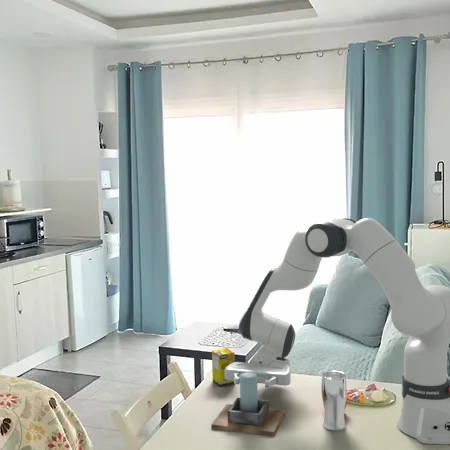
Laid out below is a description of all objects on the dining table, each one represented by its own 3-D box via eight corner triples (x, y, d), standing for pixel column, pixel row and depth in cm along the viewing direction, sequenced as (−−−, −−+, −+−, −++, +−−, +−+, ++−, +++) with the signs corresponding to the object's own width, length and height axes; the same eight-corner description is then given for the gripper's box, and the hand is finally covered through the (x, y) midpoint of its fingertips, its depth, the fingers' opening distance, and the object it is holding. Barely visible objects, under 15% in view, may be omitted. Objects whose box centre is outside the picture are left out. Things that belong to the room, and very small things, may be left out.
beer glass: (347, 432, 159) (346, 379, 157) (321, 431, 160) (320, 378, 158) (346, 421, 165) (346, 370, 164) (322, 419, 167) (321, 369, 165)
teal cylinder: (259, 413, 169) (259, 373, 167) (255, 420, 164) (254, 379, 163) (243, 411, 170) (242, 371, 169) (238, 418, 166) (237, 378, 164)
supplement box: (235, 383, 195) (235, 352, 194) (219, 387, 193) (218, 355, 192) (228, 377, 201) (227, 347, 200) (212, 381, 198) (211, 350, 197)
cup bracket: (284, 414, 171) (284, 399, 171) (273, 436, 158) (273, 419, 157) (226, 407, 177) (226, 393, 176) (211, 428, 164) (210, 412, 163)
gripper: (231, 354, 186) (217, 370, 173) (294, 359, 180) (285, 376, 167) (231, 373, 187) (218, 390, 174) (294, 379, 180) (285, 397, 167)
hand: (251, 383), depth 170 cm, fingers open, 8 cm apart
